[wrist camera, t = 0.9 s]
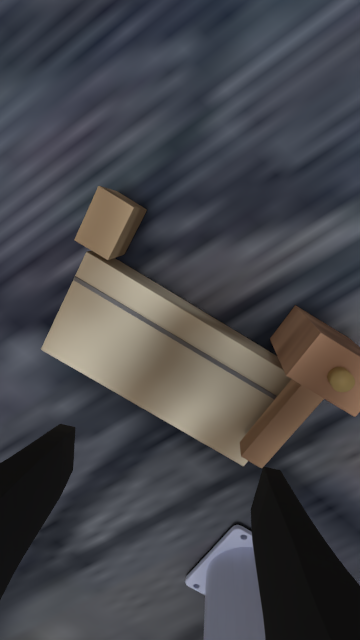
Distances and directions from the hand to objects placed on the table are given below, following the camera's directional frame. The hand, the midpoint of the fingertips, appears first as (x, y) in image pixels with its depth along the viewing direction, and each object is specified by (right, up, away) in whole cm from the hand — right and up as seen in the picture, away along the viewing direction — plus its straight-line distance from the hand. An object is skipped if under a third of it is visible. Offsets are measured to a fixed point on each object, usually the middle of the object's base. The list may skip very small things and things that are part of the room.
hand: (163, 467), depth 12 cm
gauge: (+7, +2, +9) cm, 11 cm away
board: (0, +3, +9) cm, 10 cm away
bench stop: (-3, +11, +7) cm, 14 cm away
